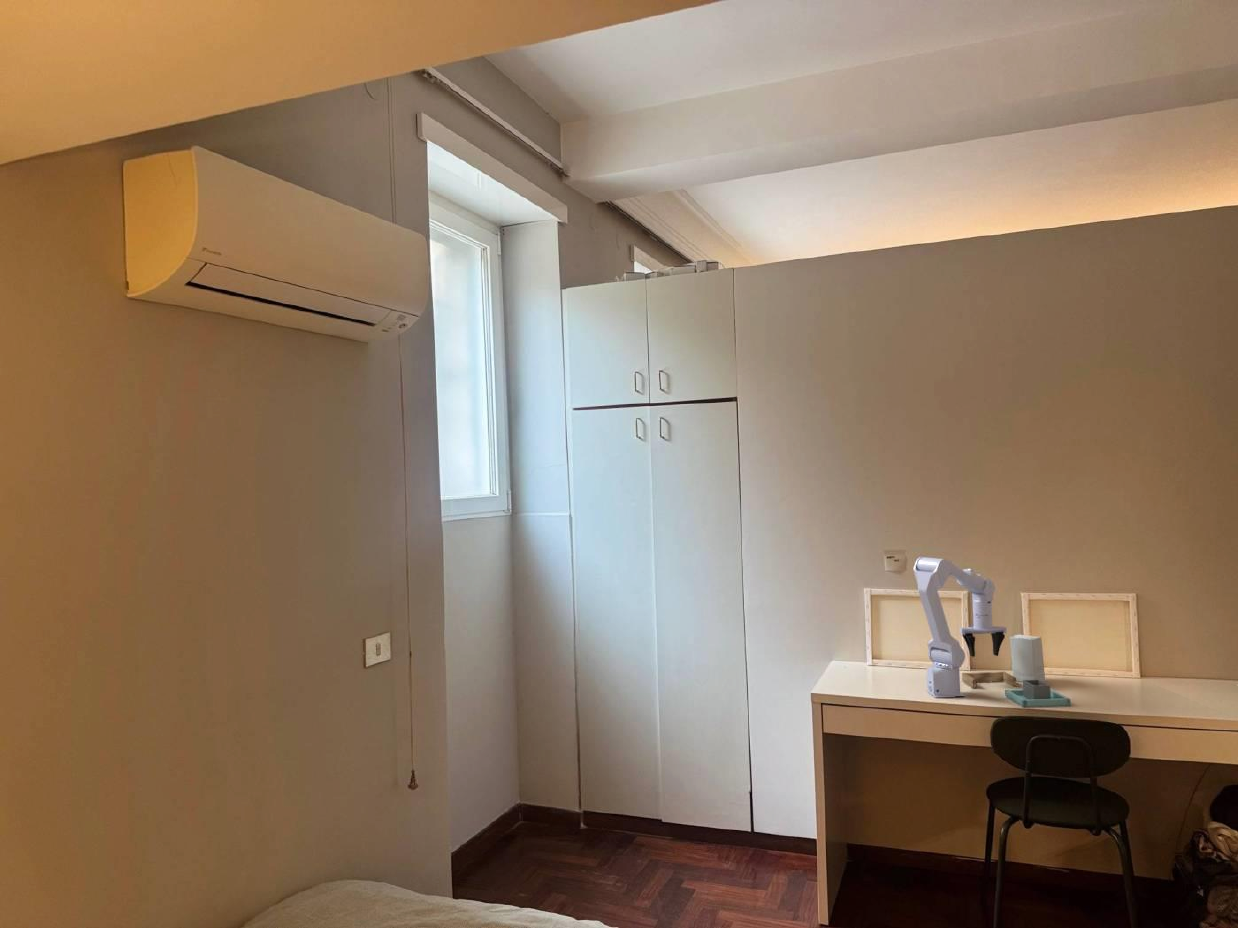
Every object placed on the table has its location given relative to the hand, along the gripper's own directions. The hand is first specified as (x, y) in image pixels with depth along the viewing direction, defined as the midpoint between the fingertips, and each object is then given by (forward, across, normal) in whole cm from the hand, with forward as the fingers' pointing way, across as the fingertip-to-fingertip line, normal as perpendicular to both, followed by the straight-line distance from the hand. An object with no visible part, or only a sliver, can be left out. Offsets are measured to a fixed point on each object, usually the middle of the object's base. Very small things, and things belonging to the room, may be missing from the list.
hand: (984, 655), depth 273 cm
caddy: (+9, -7, +20) cm, 23 cm away
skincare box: (+10, -15, -2) cm, 18 cm away
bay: (+9, -1, +1) cm, 10 cm away
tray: (+9, -7, +20) cm, 24 cm away
